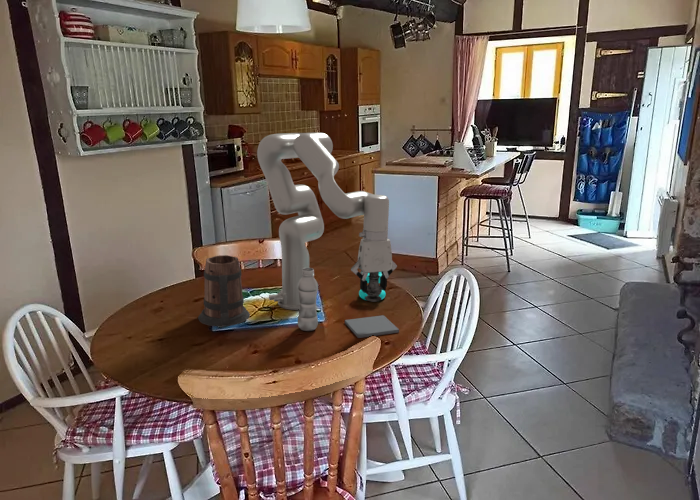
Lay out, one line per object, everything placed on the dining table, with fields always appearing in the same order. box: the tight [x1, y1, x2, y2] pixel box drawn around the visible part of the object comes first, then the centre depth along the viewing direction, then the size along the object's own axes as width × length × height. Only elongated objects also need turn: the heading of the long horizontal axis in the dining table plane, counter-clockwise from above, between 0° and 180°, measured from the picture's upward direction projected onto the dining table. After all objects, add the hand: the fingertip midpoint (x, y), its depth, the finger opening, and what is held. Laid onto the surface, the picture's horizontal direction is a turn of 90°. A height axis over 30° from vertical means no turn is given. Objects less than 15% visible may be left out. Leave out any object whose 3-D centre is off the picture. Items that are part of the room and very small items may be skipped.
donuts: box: [358, 272, 387, 301], centre depth 193 cm, size 10×10×10 cm
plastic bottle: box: [297, 267, 319, 332], centre depth 163 cm, size 6×7×20 cm
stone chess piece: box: [365, 272, 383, 302], centre depth 164 cm, size 6×6×12 cm
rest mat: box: [344, 314, 400, 339], centre depth 168 cm, size 14×12×1 cm
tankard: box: [198, 254, 251, 327], centre depth 168 cm, size 24×17×20 cm
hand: (373, 289), depth 165 cm, fingers closed on stone chess piece, 5 cm apart
